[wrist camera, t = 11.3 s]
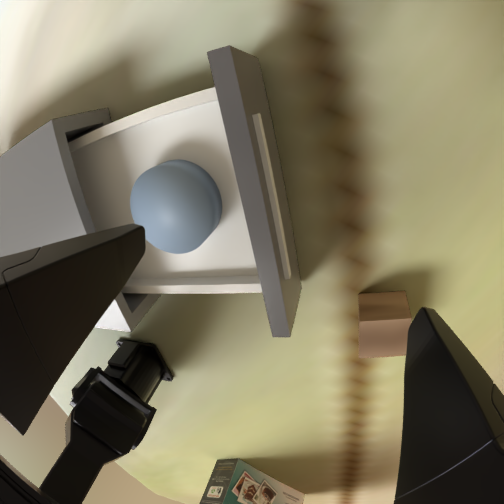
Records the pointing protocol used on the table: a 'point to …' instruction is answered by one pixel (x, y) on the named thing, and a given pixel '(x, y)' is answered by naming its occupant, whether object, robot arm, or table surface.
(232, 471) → the cake mix box
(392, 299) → the block
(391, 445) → the table surface
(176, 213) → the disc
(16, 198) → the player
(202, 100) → the grey white drawer
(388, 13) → the table surface
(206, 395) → the table surface
